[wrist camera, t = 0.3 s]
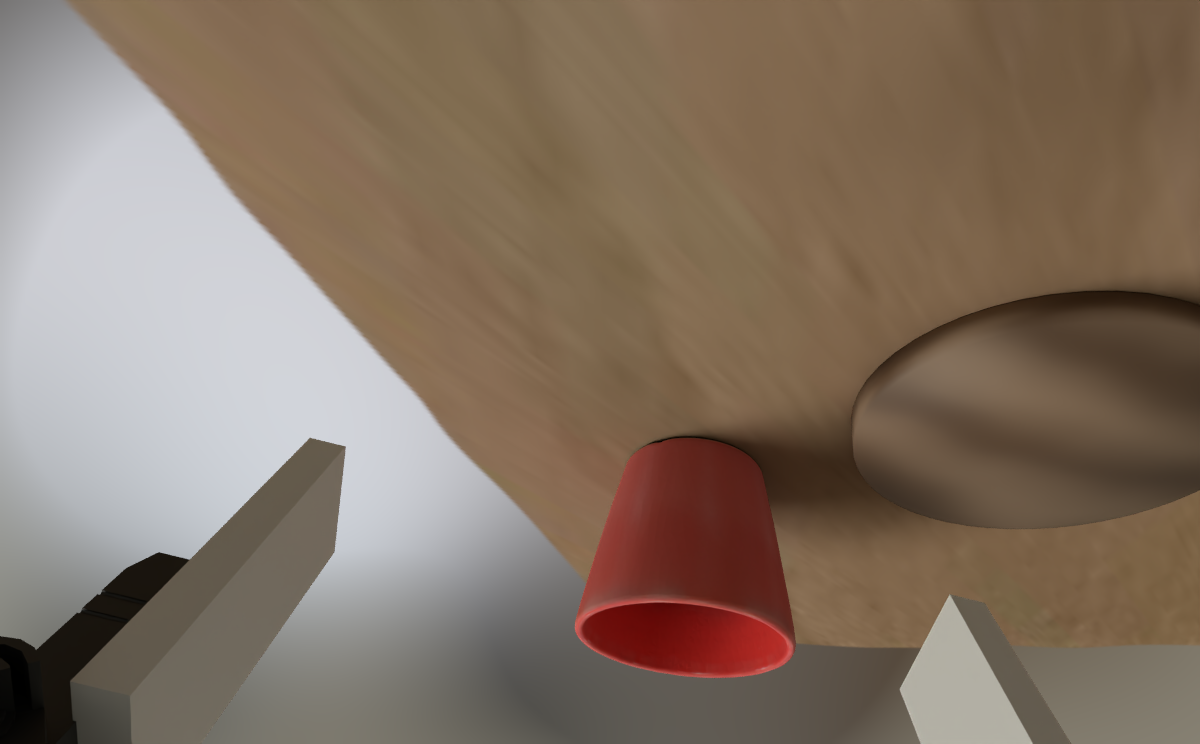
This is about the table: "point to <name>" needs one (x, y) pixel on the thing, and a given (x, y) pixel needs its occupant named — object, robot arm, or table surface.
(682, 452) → the flower pot
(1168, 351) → the brown plate
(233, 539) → the robot arm
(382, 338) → the table surface
